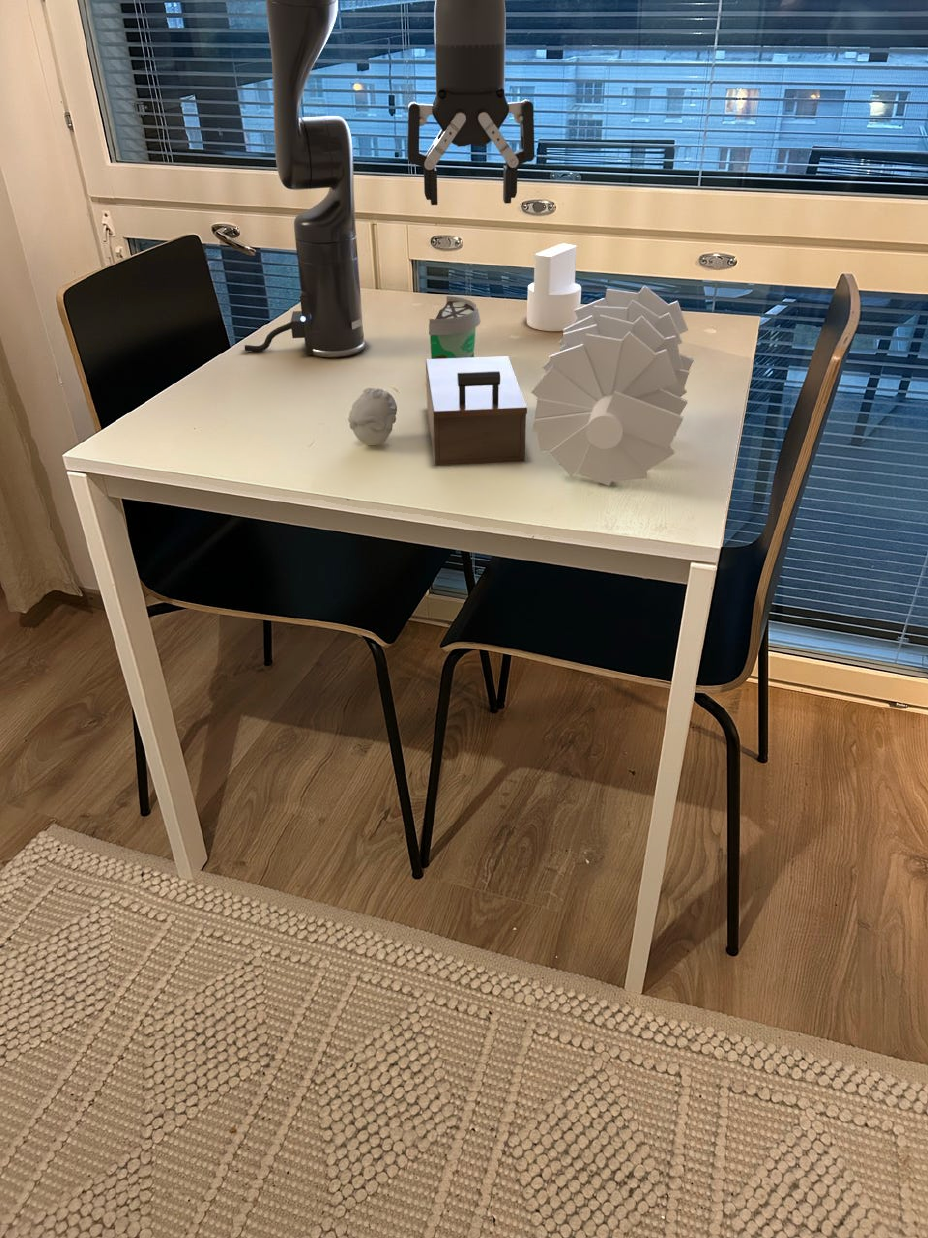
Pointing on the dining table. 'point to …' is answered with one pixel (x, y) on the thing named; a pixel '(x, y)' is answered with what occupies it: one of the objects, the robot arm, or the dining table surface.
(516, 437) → the chest
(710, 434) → the dining table surface
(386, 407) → the grey rounded lumpy piece
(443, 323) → the food container
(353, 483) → the dining table surface
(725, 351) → the dining table surface
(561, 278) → the base with upright slab
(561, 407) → the spiral staircase
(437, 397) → the chest lid
